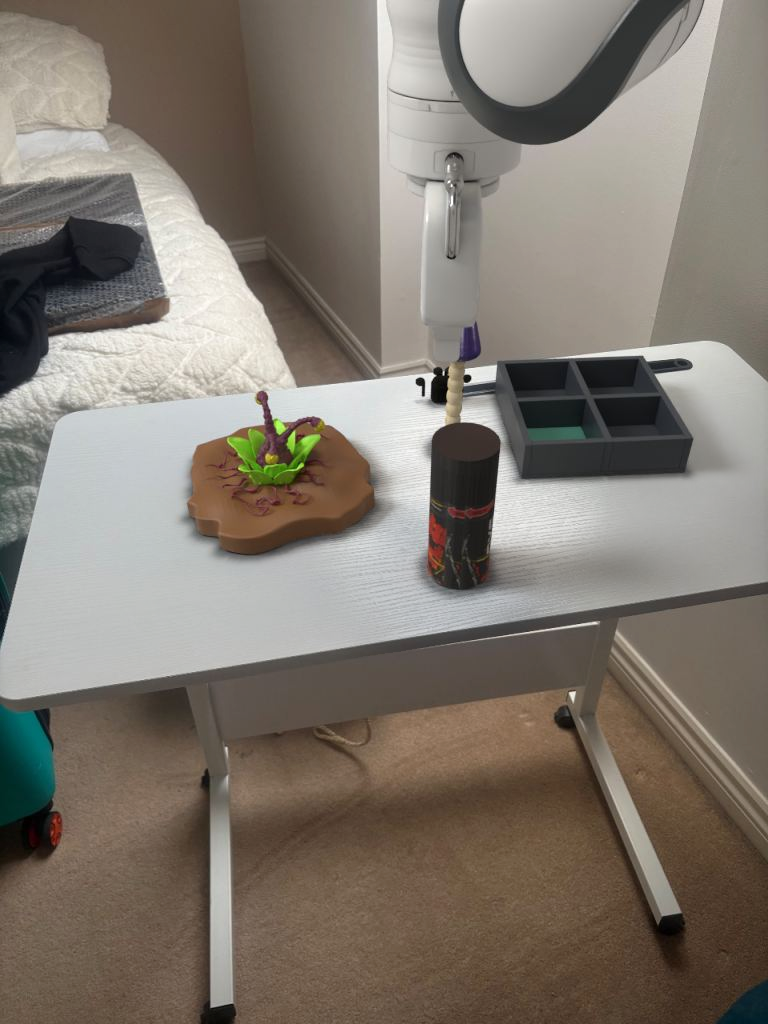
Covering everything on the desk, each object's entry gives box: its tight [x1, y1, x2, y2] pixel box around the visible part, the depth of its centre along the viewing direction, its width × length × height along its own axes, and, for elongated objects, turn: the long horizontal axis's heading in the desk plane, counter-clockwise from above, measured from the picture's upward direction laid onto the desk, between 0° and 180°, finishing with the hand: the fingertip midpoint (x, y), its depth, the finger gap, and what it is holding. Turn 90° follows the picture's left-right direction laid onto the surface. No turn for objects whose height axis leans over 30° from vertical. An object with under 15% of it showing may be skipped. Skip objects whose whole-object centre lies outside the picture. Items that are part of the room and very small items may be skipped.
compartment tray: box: [494, 355, 694, 480], centre depth 98 cm, size 18×18×5 cm
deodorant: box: [426, 421, 502, 591], centre depth 76 cm, size 6×6×15 cm
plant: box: [186, 390, 376, 555], centre depth 87 cm, size 20×20×11 cm
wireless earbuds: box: [415, 365, 473, 404], centre depth 102 cm, size 7×2×5 cm, turn 96°
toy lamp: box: [444, 320, 482, 426], centre depth 91 cm, size 5×5×17 cm
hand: (446, 327), depth 63 cm, fingers open, 8 cm apart
